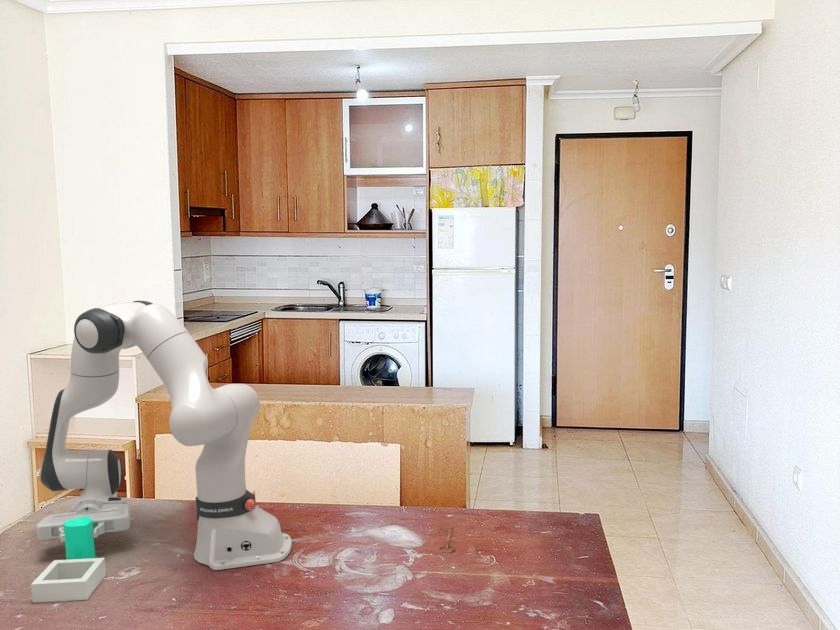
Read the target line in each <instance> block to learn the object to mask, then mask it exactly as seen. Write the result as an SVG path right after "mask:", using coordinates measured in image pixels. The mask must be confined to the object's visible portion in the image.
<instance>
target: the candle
mask: <svg viewBox="0 0 840 630" xmlns="http://www.w3.org/2000/svg"><path fill="white" fill-rule="evenodd" d="M63 526H64V536H65V542H64V547H65V557H66V559H65V560H70V559H90V558H97V557H96V547H95V538H92V530H93V521H92V519H91V518H90V517H78V515H77V518H74V519H72V520H69V521H66V522H65V523H63Z"/></svg>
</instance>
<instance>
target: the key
mask: <svg viewBox="0 0 840 630" xmlns="http://www.w3.org/2000/svg"><path fill="white" fill-rule="evenodd" d="M453 528H454V525H453V524H451V525H449V526H444V527H439V530H438V534H446V535H447V537H446V541H445V545H444V546H442V547H441V546H440V547H439V548H438V552H439V553H442V554H451V553H453V552H454V551H455V550H456V549H455V547H453V546H452V545H450V544H451V539H452V534H453V533H452V532H453ZM442 549H446V550H442ZM448 549H450V550H448Z"/></svg>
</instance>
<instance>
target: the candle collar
mask: <svg viewBox="0 0 840 630" xmlns="http://www.w3.org/2000/svg"><path fill="white" fill-rule="evenodd" d="M105 559H106V557H96V558H90V559H70V560H66V559H54V560H53V561H52V562H51V563H50V564H49V565H48V566H46V568H44V570H43V571H42V572H41V573H40V574H39V575H38V576H37V578H36V579H35V580H33V582H31V583H30V589H31V590H30V591H31V601H32V603H52V602H68V601H69V602H70V601H87V600H88V599H89V598H90V597H91V595H92V594H93V592H95V590H96V589H97V588H98V587H99V585H100V584H101V582H102V581H103V580H104V579H105V577H106V576H107V570H106V569H107V567H106V560H105Z"/></svg>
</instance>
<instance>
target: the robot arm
mask: <svg viewBox="0 0 840 630" xmlns="http://www.w3.org/2000/svg"><path fill="white" fill-rule="evenodd" d="M73 333H74V337H73V341H72V346H71V354H70V355H71V356H70V376H69V381H68V384H67V386H66V387H65V388H62V389H61V390H60V391H59V392H58V393H57V395H56V397H55V400H54V403H53V407H52V412H51V417H50V423H49V427H48V433H47V434H48V435H47V439H46V446H45V452H44V455H43V460H42V461H41V462H42V463H41V466H40V470H39V476H40V478H39V479H40V482H41V484H42V485H43V486H44V487H45V488H47V489H48V490H50V491H51V492H58V491H68V490H82V492H81V493H80V495H79V497H78V499H77V500H76V501H75V503H74V504H73V507H72V508H71V510H70V512H61V513H55V514H50V515H47V516H45V517H43V519H41V520H40V521H39V522H38V523H37V524H36V527H35V531H36V538H37V540H39V541H47V540H56V539H59V541H60V543H63V542H64V543H65V536H64V526H63V523H65V522H66V521H69V520H72V519H74V518H77V515H78V517H90V518H91V519H92V521H93V530H92V538H94V539H97V538H98V536H100V535H103V534H107V533H116V532H117V533H118V532H124V531H127V530H129V529H130V528H131V516H130V515H131V514H130V506H129V505H128V500H127V498H126V497H118V490H119V489H120V488H121V485H122V480H123V465H122V464H123V463H122V460H121V458H120V457H119V455H118V454H117V453H116V452H115V450H112V449H81V450H80V449H79V450H78V449H76V450H73V449H72V450H71V449H68V448H66V444H67V443H66V442H67V436H68V431H69V426H70V420H71V419H72V418H73V417H75V416H76V415H78V414H81V413H83V412H85V411H88V410H91V409H93V408H94V409H95V408H98V407H99V406H100V407H101V405H103V404H105V403H106V402H108V401H110V399H112V398H113V397H114V396H115V395H116V393H117V391H118V389H119V385H120V384H119V382H120V381H119V380H120V352H121V351H122V350H127V349H131V348H133V347H138V349H140V350H141V352H142V354H143V355H144V357H145V358H146V359H147V361H148V362H149V364H150V365H151V367H152V368H153V370H154V371H155V373H156V374H157V376H158V377H159V379H160V380H161V382H162V383H163V384H164V387H165V389H166V390H167V393H168V396H169V400H170V404H171V412H170V415H169V420H168V423H169V430H170V432H171V435H172V436H173V438H174V439H175V440H176V441H177V442H178V443H180V445H183V446H185V447H196V446H203V448H202V451H201V452H200V455H199V456H198V458H197V460H196V462H195V466H194V467H195V468H194V469H195V483H196V497H195V501H194V502H195V503H194V504H195V507H194V508H195V517H196V521H197V536H196V542H195V543H196V544H195V549H194V553H193V558H194V560H195V561H196V562H197V563H200V564H202V565H206V566H209V568H210V569H212V571H213V570H214V571H221V570H226V569H227V570H228V569H236V568H243V567H248V566H249V567H250V566H256V565H264V564H271V563H278V562H281V561H282V560H284V559H285V558H287V557H288V555H289V554H290V553H291V550H292V547H293V542H292V538H291V536H290V534H287V533H285V532H282V529H281V524H280V522H279V519H278V518H277V517H276V516H274V515H273V514H271V513H269V512H268V511H266V510H265V509H262V508H261V507H260V506H257V505H256V491H255V490H254V491H253V492H250V491H249V490H248V489H247V486H246V485H247V484H246V453H247V447H248V442H249V438H250V433H251V431H252V430H251V429H252V425H253V423H254V422H255V418H257V415H258V414H259V411H260V403H261V402H260V399H259V395H258V393H257V392H256V390H255V389H254V388H253V387H251V385H248V384H245V383H228V384H227V383H226V384H224V385H221V386H219V387H216V388H213V386H212V385H211V384H210V381H209V379H208V376H207V368H208V365H209V360H208V358H207V355H206V354H205V353H204V352H203V349H201V347H200V346H199V344H198V343H197V342H196V341H195V339H194V338H193V336H192V335H191V334H190V332H189V331H188V330H187V328H186V326H184V325H183V323H182V322H181V321H180V320H179V319H178V317H176V316H175V315H174V314H173V313H172V312H171V311H170V310H169V309H168V308H167V307H166V306H164V305H162V304H160V303H153V302H151V301H147V300H134V301H129V302H127V301H126V302H120V303H119V302H116V303H111V304H106V305H103V306H101V307H95V308H90V309H89V310H86V311H84V312H82V313H81V314H80V315H79V316H78V317H77V318H76V320H75V322H74V326H73Z"/></svg>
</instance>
